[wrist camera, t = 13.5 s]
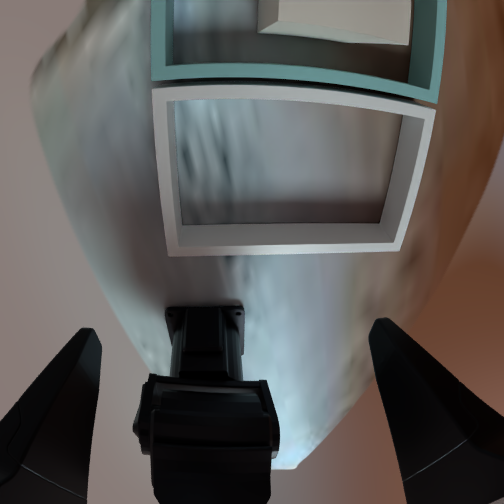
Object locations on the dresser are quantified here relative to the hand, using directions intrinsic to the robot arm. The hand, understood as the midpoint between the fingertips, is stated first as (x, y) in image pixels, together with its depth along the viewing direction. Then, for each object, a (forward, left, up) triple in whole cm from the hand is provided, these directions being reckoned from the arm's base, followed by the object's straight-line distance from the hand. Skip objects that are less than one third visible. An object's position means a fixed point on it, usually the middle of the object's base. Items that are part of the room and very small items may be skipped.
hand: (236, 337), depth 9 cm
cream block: (+11, -4, -12) cm, 17 cm away
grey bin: (+1, -4, -12) cm, 13 cm away
